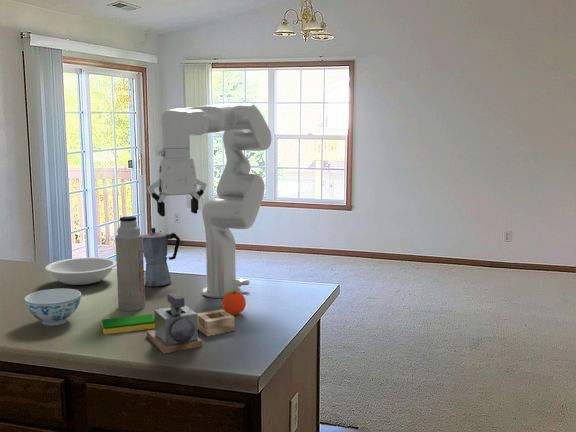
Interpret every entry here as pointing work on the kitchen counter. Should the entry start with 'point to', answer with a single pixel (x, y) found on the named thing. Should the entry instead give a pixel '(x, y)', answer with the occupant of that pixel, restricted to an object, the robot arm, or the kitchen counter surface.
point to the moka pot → (157, 257)
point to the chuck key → (175, 302)
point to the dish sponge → (128, 323)
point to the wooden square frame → (215, 322)
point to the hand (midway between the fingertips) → (178, 214)
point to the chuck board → (172, 347)
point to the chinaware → (53, 305)
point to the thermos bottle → (130, 265)
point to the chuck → (175, 326)
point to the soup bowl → (81, 270)
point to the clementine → (234, 302)
